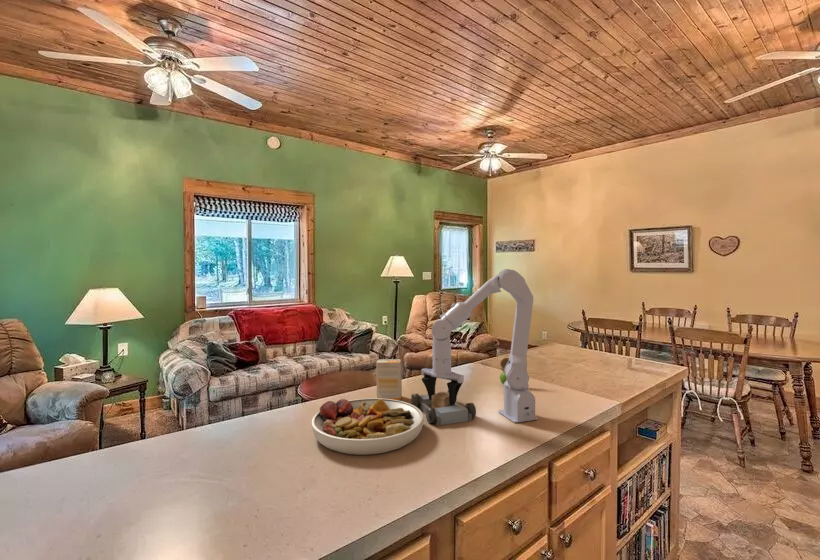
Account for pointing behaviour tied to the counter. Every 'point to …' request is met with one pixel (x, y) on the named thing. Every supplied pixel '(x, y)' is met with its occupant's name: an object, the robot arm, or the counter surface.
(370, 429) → the bowl
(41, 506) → the counter surface
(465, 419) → the car chassis
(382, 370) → the supplement box
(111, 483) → the counter surface
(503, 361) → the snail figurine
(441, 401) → the engine block
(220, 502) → the counter surface
